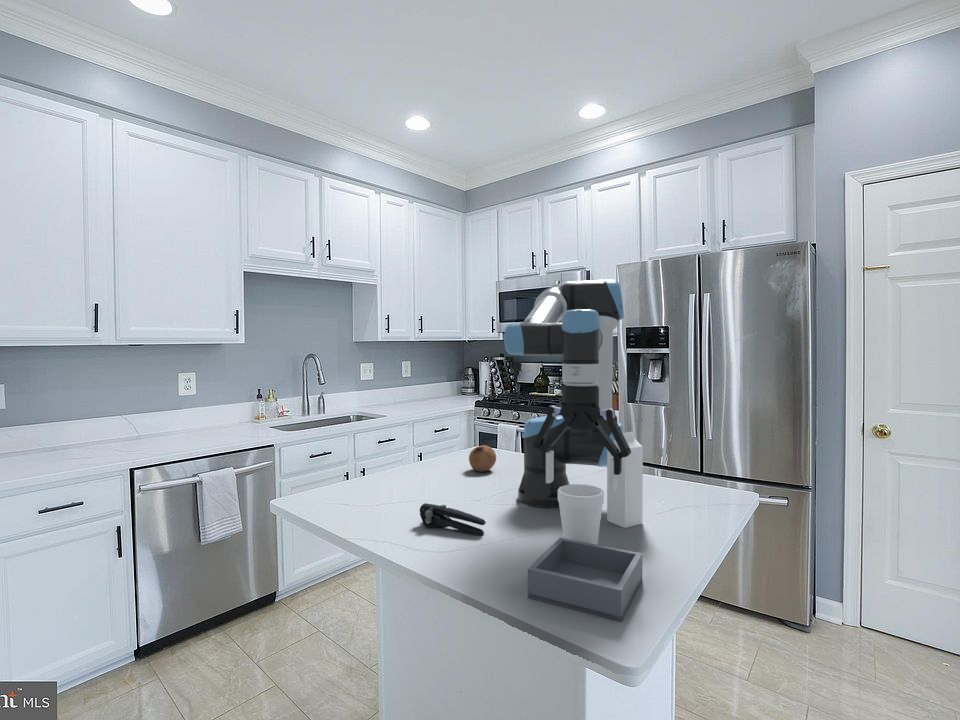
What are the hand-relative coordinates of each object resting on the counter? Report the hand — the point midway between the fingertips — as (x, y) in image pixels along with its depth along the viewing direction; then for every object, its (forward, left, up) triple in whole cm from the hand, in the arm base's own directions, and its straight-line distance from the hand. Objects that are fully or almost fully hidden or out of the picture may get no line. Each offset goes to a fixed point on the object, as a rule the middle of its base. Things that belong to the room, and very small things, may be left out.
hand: (580, 486), depth 106 cm
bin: (+6, -15, -14) cm, 21 cm away
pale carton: (+4, +22, -14) cm, 27 cm away
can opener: (-31, -1, -14) cm, 34 cm away
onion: (-51, +50, -14) cm, 73 cm away
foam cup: (0, 0, -14) cm, 14 cm away
